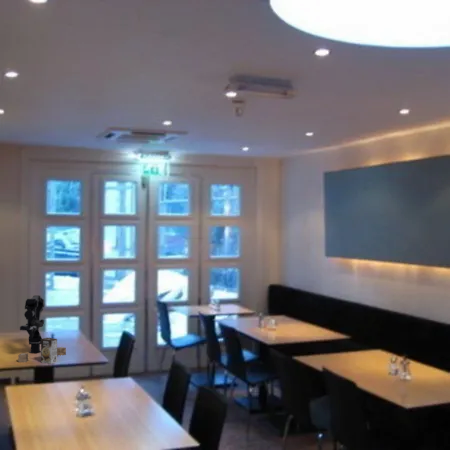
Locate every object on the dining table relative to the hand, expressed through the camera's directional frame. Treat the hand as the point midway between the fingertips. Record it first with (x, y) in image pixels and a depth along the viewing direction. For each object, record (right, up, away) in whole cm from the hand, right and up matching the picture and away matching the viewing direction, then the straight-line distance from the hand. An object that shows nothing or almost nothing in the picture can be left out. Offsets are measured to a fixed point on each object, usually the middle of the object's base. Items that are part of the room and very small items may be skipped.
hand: (31, 338), depth 427 cm
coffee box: (+17, -14, -17) cm, 27 cm away
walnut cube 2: (+19, -13, +6) cm, 24 cm away
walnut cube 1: (-1, -13, -14) cm, 20 cm away
